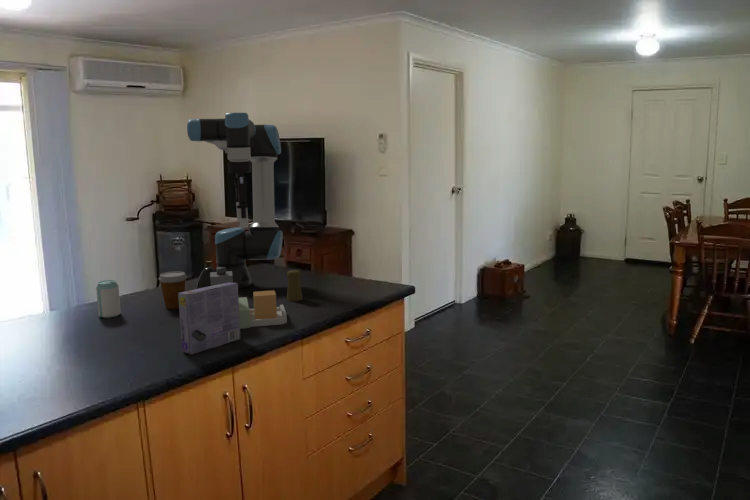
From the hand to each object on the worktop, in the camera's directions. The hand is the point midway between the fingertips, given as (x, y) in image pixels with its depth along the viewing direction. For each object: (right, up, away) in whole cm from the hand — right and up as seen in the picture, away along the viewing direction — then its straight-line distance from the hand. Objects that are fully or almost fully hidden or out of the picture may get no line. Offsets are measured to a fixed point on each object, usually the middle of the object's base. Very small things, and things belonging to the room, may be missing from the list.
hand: (242, 224), depth 213 cm
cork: (+14, -27, +24) cm, 39 cm away
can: (-47, -31, +5) cm, 57 cm away
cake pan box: (-3, -37, -26) cm, 45 cm away
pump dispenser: (-14, -30, +12) cm, 35 cm away
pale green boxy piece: (+1, -32, -2) cm, 32 cm away
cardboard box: (+8, -31, -1) cm, 32 cm away
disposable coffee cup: (-28, -29, +16) cm, 43 cm away
